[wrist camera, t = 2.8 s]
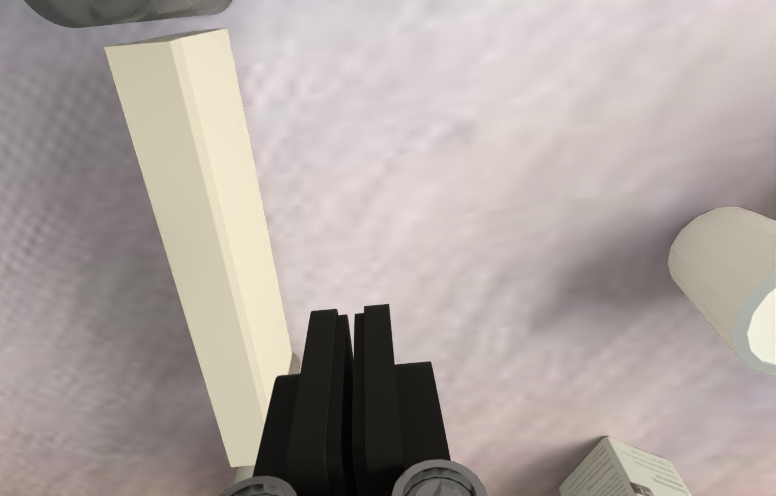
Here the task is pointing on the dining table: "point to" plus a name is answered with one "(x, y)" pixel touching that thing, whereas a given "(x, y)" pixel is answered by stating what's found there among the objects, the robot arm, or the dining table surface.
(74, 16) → the gate frame
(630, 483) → the skincare box
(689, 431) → the dining table surface
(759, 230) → the white short cylinder
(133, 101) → the gate
